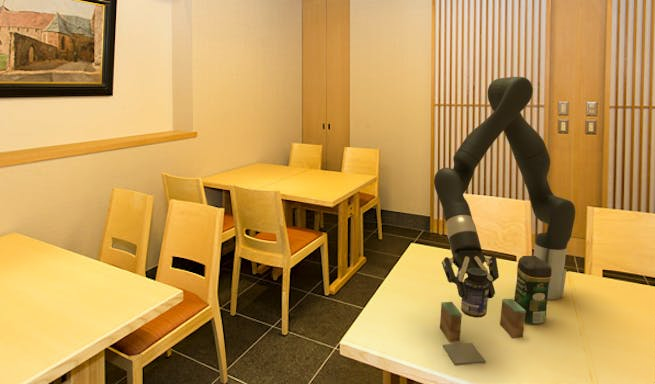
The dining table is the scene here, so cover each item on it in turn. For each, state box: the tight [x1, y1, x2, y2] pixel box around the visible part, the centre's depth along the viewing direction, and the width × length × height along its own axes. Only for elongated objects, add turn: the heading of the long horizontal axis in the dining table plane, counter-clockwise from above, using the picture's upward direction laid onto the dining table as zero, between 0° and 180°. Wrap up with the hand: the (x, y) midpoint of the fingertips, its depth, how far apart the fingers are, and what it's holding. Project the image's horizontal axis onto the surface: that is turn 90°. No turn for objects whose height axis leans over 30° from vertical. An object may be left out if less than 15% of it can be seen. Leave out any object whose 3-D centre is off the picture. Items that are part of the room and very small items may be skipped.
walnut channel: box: [439, 298, 526, 343], centre depth 120 cm, size 21×7×8 cm, turn 96°
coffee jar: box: [513, 255, 552, 325], centre depth 127 cm, size 10×8×19 cm
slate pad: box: [442, 342, 487, 366], centre depth 110 cm, size 8×8×1 cm
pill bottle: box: [460, 268, 489, 319], centre depth 107 cm, size 6×6×11 cm
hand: (478, 297), depth 105 cm, fingers closed on pill bottle, 6 cm apart
